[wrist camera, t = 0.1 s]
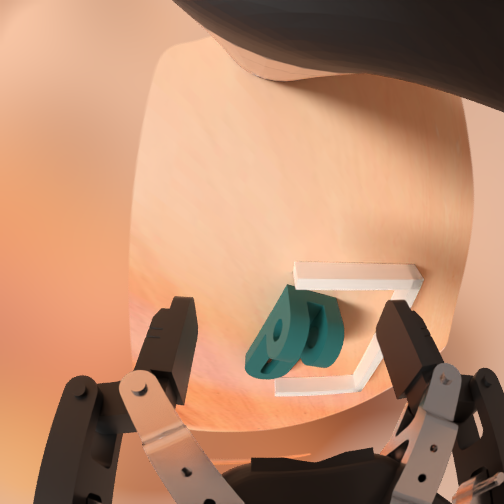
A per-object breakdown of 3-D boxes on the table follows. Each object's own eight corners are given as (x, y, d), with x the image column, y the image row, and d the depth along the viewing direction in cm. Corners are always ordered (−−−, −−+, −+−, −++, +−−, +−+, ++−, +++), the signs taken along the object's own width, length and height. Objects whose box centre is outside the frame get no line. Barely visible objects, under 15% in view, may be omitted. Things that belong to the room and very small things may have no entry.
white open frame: (294, 261, 31) (297, 278, 28) (414, 264, 31) (424, 279, 28) (274, 381, 45) (274, 396, 43) (357, 377, 45) (360, 391, 43)
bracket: (287, 283, 33) (292, 335, 26) (335, 296, 34) (349, 346, 27) (239, 363, 42) (237, 406, 36) (278, 370, 43) (280, 412, 37)
